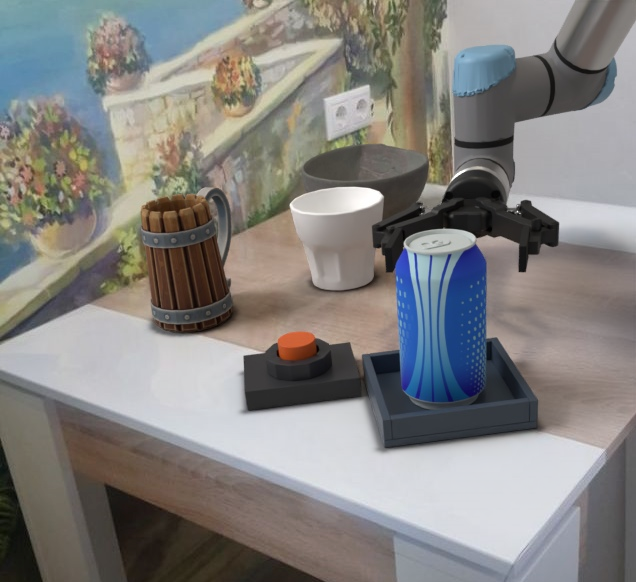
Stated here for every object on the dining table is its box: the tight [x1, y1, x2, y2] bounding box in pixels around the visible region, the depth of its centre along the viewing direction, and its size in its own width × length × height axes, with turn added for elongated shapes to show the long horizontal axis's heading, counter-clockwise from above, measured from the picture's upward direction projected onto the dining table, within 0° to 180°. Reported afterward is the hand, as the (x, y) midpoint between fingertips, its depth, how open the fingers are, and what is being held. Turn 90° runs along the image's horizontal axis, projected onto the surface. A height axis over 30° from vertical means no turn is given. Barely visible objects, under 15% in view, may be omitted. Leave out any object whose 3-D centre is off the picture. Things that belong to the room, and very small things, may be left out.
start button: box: [277, 330, 317, 361], centre depth 93 cm, size 4×4×2 cm
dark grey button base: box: [243, 337, 363, 411], centre depth 94 cm, size 12×9×4 cm
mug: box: [140, 186, 234, 333], centre depth 113 cm, size 16×11×15 cm
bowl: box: [300, 143, 430, 220], centre depth 140 cm, size 20×20×10 cm
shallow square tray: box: [361, 336, 539, 448], centre depth 88 cm, size 15×15×3 cm
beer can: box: [394, 228, 488, 410], centre depth 85 cm, size 8×8×16 cm
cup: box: [289, 187, 384, 292], centre depth 119 cm, size 12×12×11 cm
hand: (454, 260), depth 90 cm, fingers open, 13 cm apart
